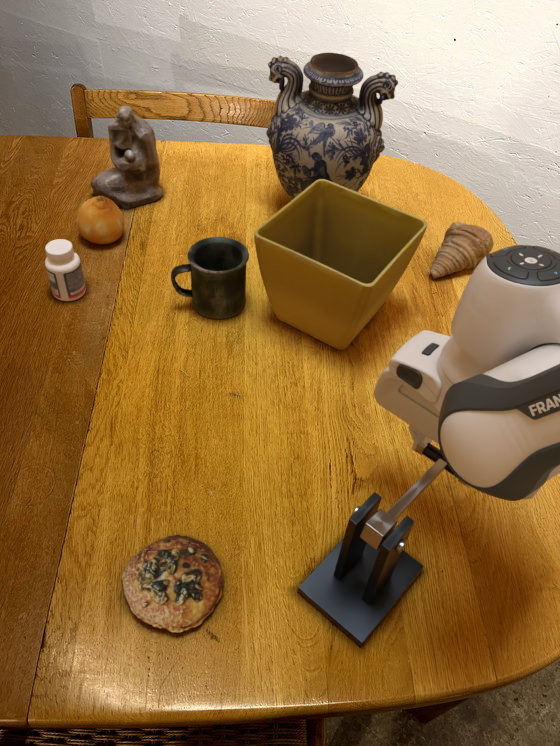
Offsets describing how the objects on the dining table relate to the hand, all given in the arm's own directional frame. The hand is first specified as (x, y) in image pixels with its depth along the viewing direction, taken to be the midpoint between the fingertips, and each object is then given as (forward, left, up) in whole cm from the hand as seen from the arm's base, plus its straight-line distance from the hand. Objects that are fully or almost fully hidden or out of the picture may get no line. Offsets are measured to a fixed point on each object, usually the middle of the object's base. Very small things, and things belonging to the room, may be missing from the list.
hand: (442, 464), depth 75 cm
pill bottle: (+64, +7, -9) cm, 65 cm away
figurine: (+79, -18, -9) cm, 82 cm away
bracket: (0, +14, -9) cm, 16 cm away
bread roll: (+15, +29, -9) cm, 34 cm away
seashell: (+23, -46, -9) cm, 52 cm away
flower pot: (+31, -19, -9) cm, 38 cm away
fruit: (+72, -6, -9) cm, 73 cm away
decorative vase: (+51, -40, -9) cm, 66 cm away
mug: (+46, -7, -9) cm, 47 cm away
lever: (0, +7, +1) cm, 7 cm away
